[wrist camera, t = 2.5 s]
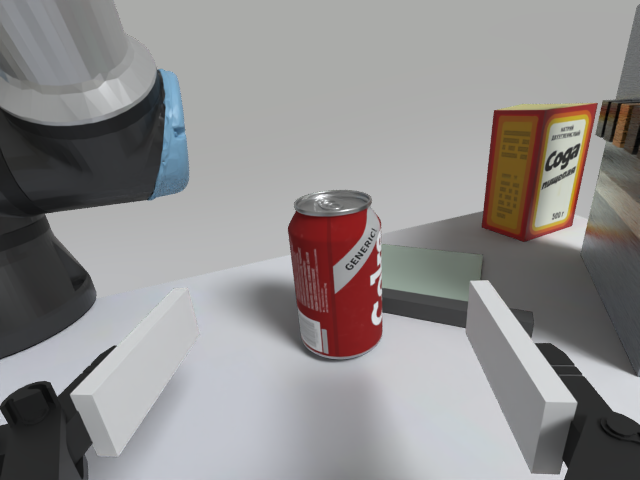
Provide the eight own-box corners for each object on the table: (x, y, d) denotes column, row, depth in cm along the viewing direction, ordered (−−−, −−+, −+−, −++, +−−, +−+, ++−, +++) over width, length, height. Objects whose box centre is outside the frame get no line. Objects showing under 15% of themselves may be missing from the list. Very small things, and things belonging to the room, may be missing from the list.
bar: (305, 296, 35) (303, 283, 35) (311, 289, 37) (310, 275, 36) (530, 340, 27) (534, 323, 26) (529, 328, 28) (532, 311, 28)
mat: (349, 292, 36) (349, 288, 36) (382, 246, 46) (382, 244, 45) (476, 314, 31) (476, 310, 30) (482, 257, 40) (482, 254, 40)
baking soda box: (527, 214, 53) (544, 101, 47) (571, 225, 47) (598, 99, 41) (481, 227, 49) (494, 107, 43) (524, 241, 44) (545, 106, 38)
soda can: (314, 376, 25) (297, 221, 21) (293, 324, 31) (276, 196, 27) (397, 352, 27) (398, 204, 22) (362, 307, 33) (357, 183, 28)
